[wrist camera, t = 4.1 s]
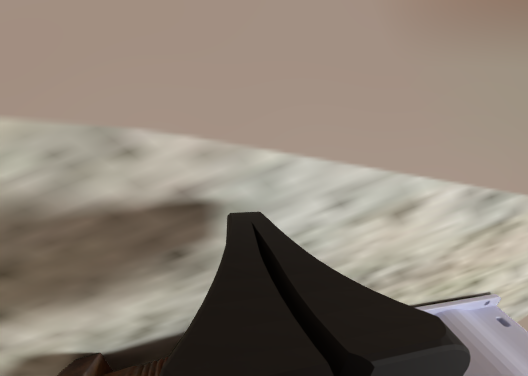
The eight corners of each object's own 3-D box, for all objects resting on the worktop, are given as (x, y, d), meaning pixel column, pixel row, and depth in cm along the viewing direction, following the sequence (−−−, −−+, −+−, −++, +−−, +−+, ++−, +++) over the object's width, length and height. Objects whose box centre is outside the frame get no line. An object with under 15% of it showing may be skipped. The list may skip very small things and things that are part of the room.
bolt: (315, 290, 19) (94, 357, 16) (336, 272, 15) (41, 359, 12) (350, 385, 16) (87, 489, 13) (388, 396, 12) (12, 555, 9)
